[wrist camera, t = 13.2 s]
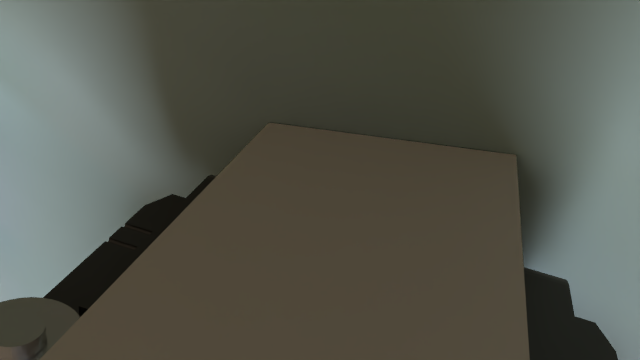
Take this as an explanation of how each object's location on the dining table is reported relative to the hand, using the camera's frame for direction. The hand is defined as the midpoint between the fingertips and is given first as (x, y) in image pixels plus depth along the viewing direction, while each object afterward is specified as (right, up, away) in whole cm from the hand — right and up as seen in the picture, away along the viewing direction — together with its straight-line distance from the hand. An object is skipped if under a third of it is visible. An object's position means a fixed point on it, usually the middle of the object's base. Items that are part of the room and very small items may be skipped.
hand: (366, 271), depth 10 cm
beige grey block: (0, 0, +1) cm, 1 cm away
